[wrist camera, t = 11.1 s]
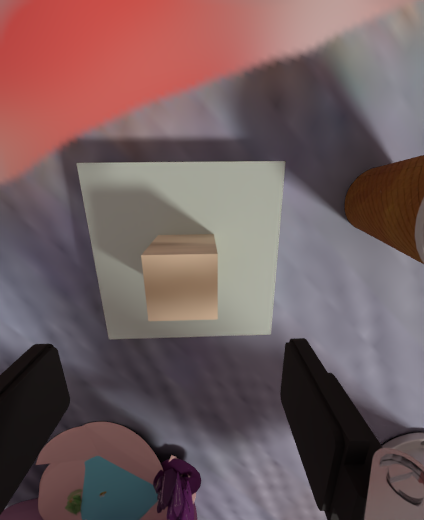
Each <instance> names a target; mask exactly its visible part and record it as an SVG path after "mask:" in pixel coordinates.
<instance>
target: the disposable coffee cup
mask: <svg viewBox="0 0 424 520" xmlns="http://www.w3.org/2000/svg"><path fill="white" fill-rule="evenodd" d="M345 214H346V216H347V219H348V220H349V222H350V223H351V224H352V225H353V226H354V227H356V228H358V229H360V230H362V231H364V232H365V233H367V234H369V235H371V236H373V237H375V238H376V239H378V240H380V241H382V242H384V243H386V244H388V245H389V246H391V247H393V248H395V249H397V250H398V251H400V252H402V253H404V254H406V255H408V256H410V257H411V258H413V259H415V260H417V261H419V262H421V263H423V264H424V155H423V156H418V157H415V158H411V159H407V160H403V161H399V162H395V163H392V164H388V165H384V166H381V167H376V168H372V169H370V170H367V171H366V172H364V173H363V174H361V175H360V176H359V177H357V179H356V180H355V181H354V182H353V183H352V185H351V186H350V188H349V190H348V192H347V195H346V198H345Z"/></svg>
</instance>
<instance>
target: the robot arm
mask: <svg viewBox="0 0 424 520" xmlns="http://www.w3.org/2000/svg"><path fill="white" fill-rule="evenodd" d="M280 395H281V402H282V405H283V408H284V411H285V414H286V417H287V419H288V422H289V425H290V428H291V431H292V434H293V437H294V440H295V443H296V446H297V449H298V452H299V455H300V457H301V460H302V463H303V466H304V469H305V472H306V475H307V478H308V481H309V484H310V487H311V490H312V492H313V495H314V498H315V501H316V504H317V506H318V508H319V510H320V511H325V514H326V517H327V520H424V433H410V434H406V435H402V436H399V437H397V438H394V439H392V440H391V441H389V442H387V443H385V444H384V445H383V446H381V444H380V443H379V441H378V440H377V438H376V437H375V435H374V434H373V432H372V431H371V429H370V428H369V426H368V425H367V423H366V422H365V420H364V419H363V417H362V416H361V414H360V413H359V411H358V410H357V408H356V407H355V405H354V404H353V402H352V401H351V399H350V398H349V397H348V395H347V394H346V392H345V391H344V389H343V388H342V386H341V385H340V383H339V382H338V380H337V379H336V377H335V376H334V375H333V374H332V373H327V371H326V369H325V368H324V366H323V365H322V363H321V362H320V360H319V359H318V357H317V355H316V354H315V352H314V351H313V349H312V348H311V346H310V345H309V343H308V341H307V340H306V339H304V338H303V339H290V342H289V343H286V344H285V353H284V363H283V373H282V383H281V393H280ZM69 403H70V396H69V392H68V389H67V385H66V381H65V377H64V373H63V369H62V365H61V362H60V358H59V354H58V350H57V348H54V346H53V345H52V344H35V345H33V346H32V347H31V348H30V349H28V350H27V351H26V352H25V353H24V354H23V355H22V356H21V357H20V358H19V359H17V360H16V361H15V362H14V363H13V364H12V365H11V366H10V367H9V368H8V369H7V370H5V371H4V372H3V373H2V374H1V375H0V515H1V513H2V512H3V510H4V509H5V507H6V506H7V504H8V502H9V501H10V499H11V498H12V496H13V494H14V493H15V491H16V490H17V488H18V486H19V485H20V483H21V482H22V480H23V478H24V477H25V475H26V474H27V472H28V471H29V469H30V467H31V466H32V464H33V463H34V461H35V459H36V458H37V456H38V455H39V453H40V451H41V450H42V448H43V447H44V445H45V443H46V442H47V440H48V439H49V437H50V435H51V434H52V432H53V431H54V429H55V428H56V426H57V424H58V423H59V421H60V420H61V418H62V416H63V415H64V413H65V412H66V410H67V408H68V406H69Z"/></svg>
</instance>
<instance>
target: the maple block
mask: <svg viewBox="0 0 424 520" xmlns="http://www.w3.org/2000/svg"><path fill="white" fill-rule="evenodd" d="M141 259H142V268H143V277H144V286H145V295H146V304H147V313H148V321H179V320H216V319H218V253H217V248H216V243H215V238H214V234H190V235H158V236H157V237H156V238H155V239H154V240H153V242H152V243H151V244H150V245H149V246H148V248H147V249H146V250H145V251H144V252H143V253H142V255H141Z"/></svg>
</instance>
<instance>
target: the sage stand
mask: <svg viewBox="0 0 424 520" xmlns="http://www.w3.org/2000/svg"><path fill="white" fill-rule="evenodd" d="M76 164H77V169H78V174H79V180H80V185H81V191H82V196H83V202H84V207H85V212H86V218H87V223H88V229H89V234H90V240H91V245H92V250H93V256H94V261H95V267H96V272H97V278H98V283H99V289H100V294H101V299H102V305H103V310H104V316H105V321H106V327H107V332H108V337H109V339H140V338H172V337H205V336H237V335H269V334H271V326H272V314H273V302H274V290H275V278H276V267H277V255H278V243H279V231H280V219H281V207H282V196H283V184H284V172H285V161H240V162H124V163H76ZM190 234H214V238H215V243H216V248H217V253H218V319H216V320H179V321H148V313H147V304H146V295H145V286H144V277H143V268H142V259H141V255H142V253H143V252H144V251H145V250H146V249H147V248H148V246H149V245H150V244H151V243H152V242H153V240H154V239H155V238H156V237H157V236H158V235H190Z"/></svg>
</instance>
